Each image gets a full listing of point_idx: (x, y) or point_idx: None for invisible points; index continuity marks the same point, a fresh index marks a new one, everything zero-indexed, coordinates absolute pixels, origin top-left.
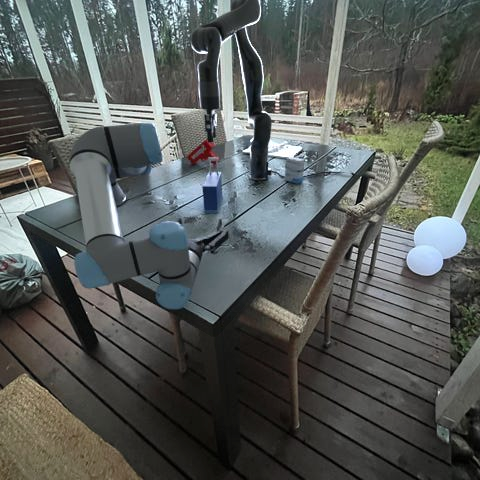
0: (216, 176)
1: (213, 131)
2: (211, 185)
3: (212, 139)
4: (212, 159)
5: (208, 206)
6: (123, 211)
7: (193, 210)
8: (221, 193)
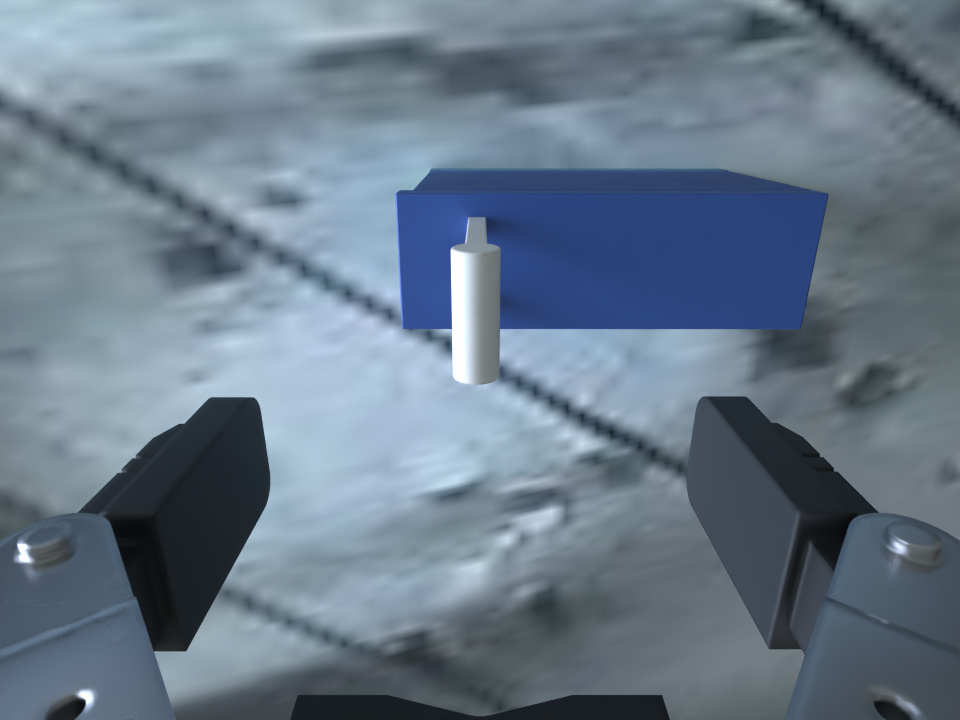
0: (533, 231)
1: (210, 515)
2: (794, 246)
3: (766, 428)
4: (499, 321)
5: None
6: (648, 685)
7: (660, 345)
8: (469, 173)
